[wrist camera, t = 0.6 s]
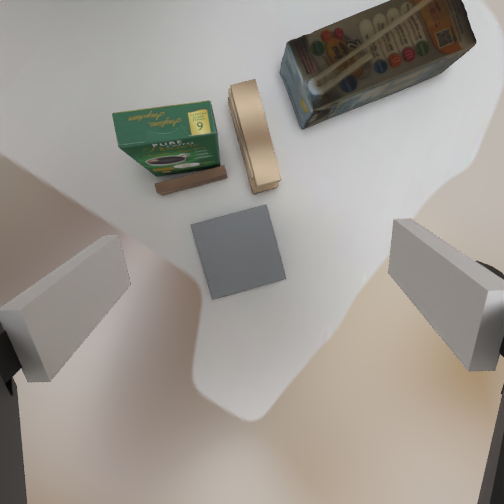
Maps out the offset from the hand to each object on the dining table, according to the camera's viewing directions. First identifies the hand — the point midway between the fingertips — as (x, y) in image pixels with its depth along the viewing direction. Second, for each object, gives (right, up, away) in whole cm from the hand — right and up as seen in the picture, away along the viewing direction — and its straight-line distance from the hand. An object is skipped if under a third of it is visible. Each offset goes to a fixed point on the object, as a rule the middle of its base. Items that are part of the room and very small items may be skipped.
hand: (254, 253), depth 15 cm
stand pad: (-2, 0, +23) cm, 23 cm away
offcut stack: (0, +13, +22) cm, 26 cm away
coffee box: (-8, +11, +22) cm, 26 cm away
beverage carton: (+13, +22, +23) cm, 34 cm away
